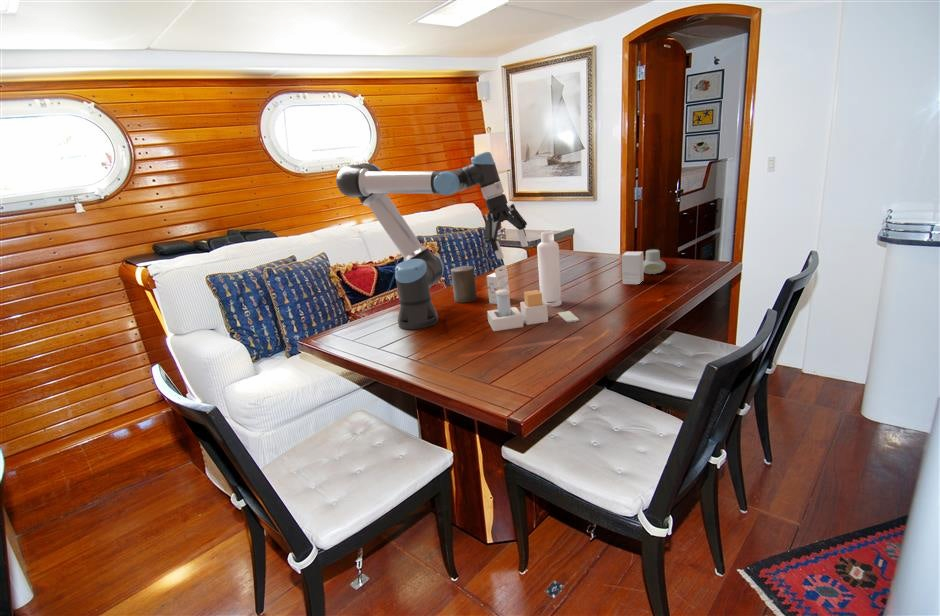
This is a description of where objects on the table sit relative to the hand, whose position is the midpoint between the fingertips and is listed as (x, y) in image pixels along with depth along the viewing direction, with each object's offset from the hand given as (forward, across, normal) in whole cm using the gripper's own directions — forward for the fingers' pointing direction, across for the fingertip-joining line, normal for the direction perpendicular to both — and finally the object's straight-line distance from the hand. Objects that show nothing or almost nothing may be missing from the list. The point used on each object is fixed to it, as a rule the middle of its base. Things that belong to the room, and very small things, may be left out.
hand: (513, 252), depth 177 cm
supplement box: (+33, +50, -11) cm, 61 cm away
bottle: (+25, +10, 0) cm, 27 cm away
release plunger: (+21, -9, -10) cm, 25 cm away
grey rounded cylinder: (+21, -18, -4) cm, 28 cm away
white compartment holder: (+23, -14, -6) cm, 27 cm away
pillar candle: (+16, -3, +34) cm, 38 cm away
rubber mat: (+26, -2, -14) cm, 30 cm away
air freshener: (+35, +67, -10) cm, 76 cm away
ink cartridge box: (+20, +3, +20) cm, 28 cm away
